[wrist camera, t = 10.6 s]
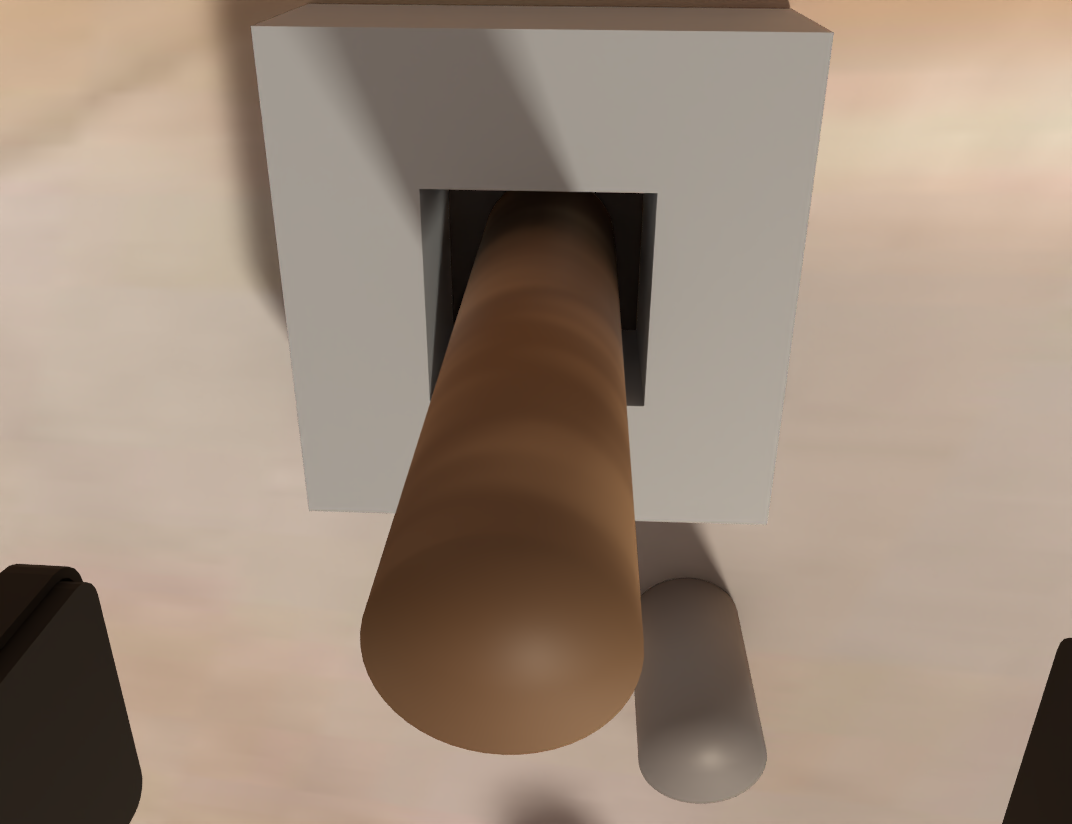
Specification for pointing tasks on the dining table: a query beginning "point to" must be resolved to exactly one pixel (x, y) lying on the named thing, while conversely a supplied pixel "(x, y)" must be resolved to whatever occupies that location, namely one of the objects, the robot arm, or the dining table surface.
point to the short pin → (696, 696)
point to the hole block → (543, 165)
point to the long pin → (518, 502)
